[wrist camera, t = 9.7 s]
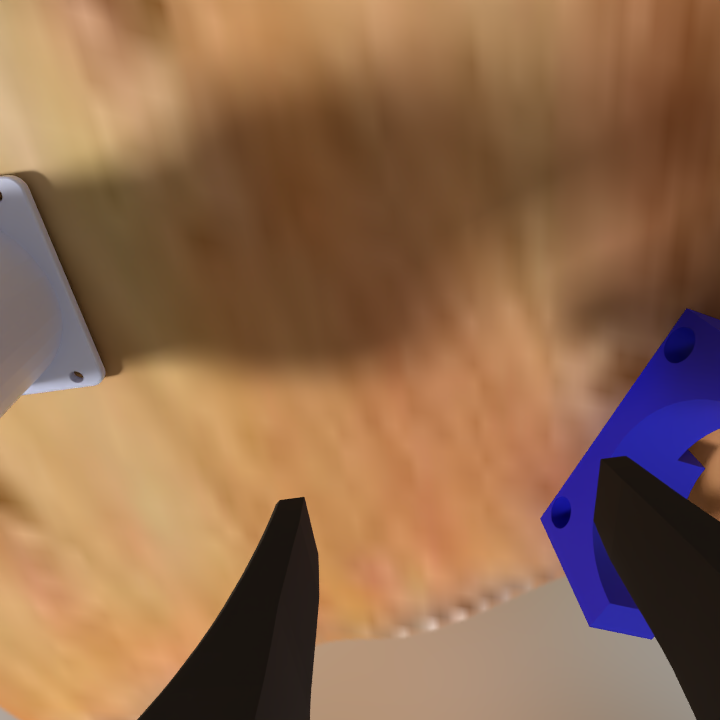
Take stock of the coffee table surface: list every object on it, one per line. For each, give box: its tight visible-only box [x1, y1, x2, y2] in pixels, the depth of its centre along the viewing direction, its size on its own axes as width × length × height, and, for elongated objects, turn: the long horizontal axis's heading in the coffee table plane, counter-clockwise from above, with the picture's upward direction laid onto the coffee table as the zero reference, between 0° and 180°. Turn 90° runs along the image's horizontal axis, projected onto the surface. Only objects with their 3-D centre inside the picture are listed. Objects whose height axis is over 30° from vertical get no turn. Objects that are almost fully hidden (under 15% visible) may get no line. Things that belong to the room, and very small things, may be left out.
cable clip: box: [540, 308, 720, 639], centre depth 22 cm, size 12×4×6 cm, turn 160°
